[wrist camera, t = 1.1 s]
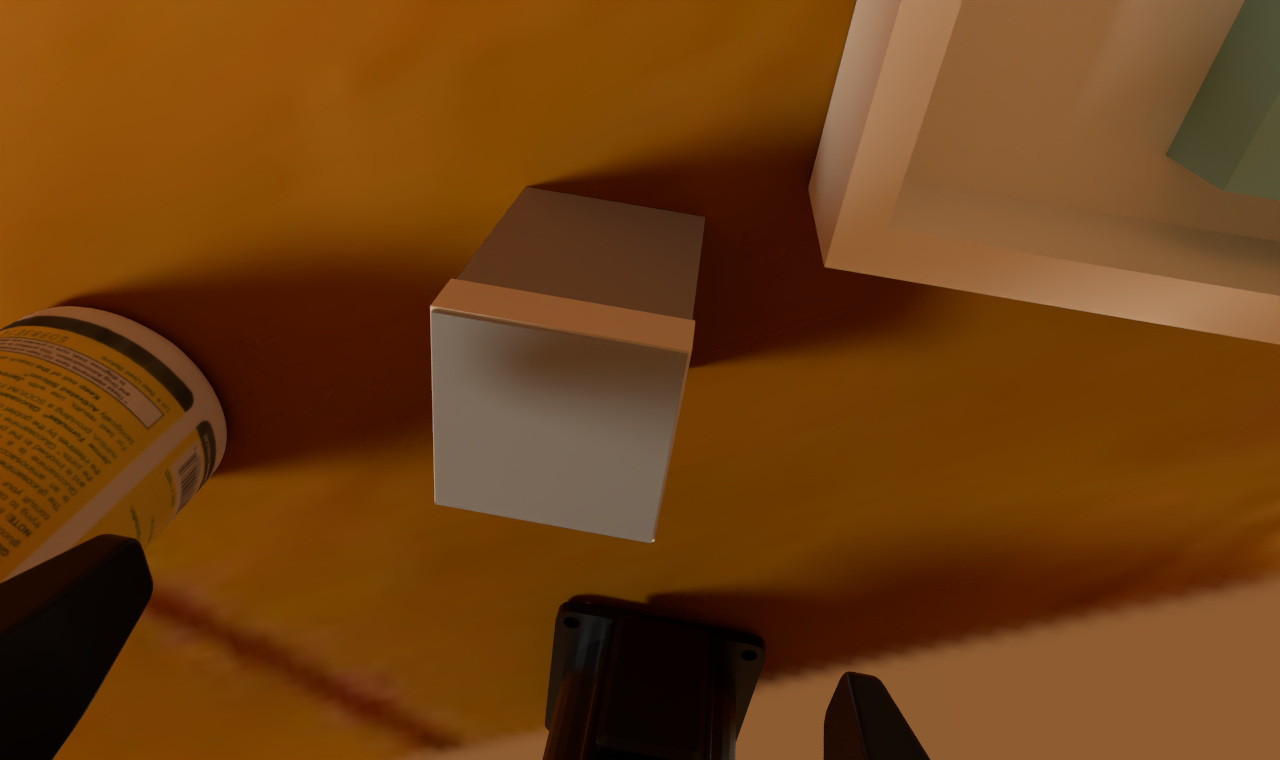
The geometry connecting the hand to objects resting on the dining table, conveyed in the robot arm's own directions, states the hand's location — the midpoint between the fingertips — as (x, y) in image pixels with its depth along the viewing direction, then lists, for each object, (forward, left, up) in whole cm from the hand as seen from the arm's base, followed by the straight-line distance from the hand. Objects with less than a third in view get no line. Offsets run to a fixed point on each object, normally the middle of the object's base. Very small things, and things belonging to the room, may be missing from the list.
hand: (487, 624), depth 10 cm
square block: (0, 0, -10) cm, 10 cm away
